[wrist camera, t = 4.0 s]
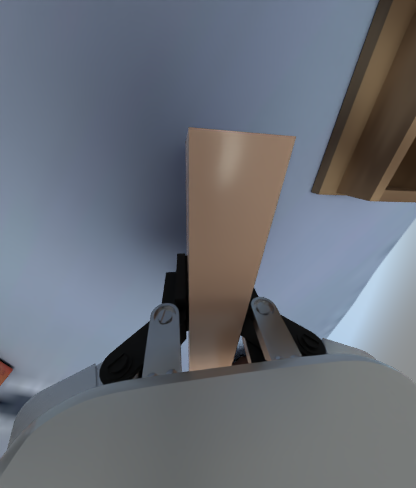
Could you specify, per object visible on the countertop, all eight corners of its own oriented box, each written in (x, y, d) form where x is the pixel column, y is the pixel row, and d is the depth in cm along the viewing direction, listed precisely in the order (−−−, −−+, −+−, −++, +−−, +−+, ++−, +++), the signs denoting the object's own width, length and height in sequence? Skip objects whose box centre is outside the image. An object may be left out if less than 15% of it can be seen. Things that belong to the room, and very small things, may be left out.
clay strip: (185, 142, 10) (189, 127, 3) (223, 144, 11) (296, 136, 4) (187, 306, 18) (189, 400, 11) (208, 305, 19) (223, 395, 12)
